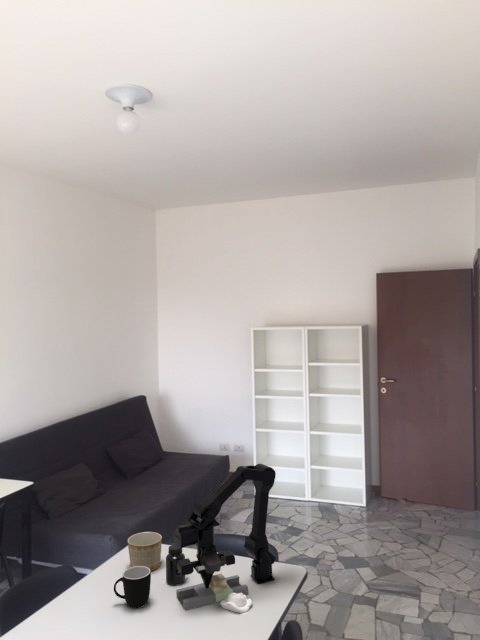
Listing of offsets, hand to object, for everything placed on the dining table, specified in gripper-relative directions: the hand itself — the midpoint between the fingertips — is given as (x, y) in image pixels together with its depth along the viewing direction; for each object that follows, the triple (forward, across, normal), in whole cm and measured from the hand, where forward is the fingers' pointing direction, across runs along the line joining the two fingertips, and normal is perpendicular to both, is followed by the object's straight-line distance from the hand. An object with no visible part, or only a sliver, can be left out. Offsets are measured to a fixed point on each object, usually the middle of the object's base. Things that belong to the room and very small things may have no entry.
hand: (206, 587), depth 175 cm
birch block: (0, +4, 0) cm, 4 cm away
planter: (+3, -13, +31) cm, 34 cm away
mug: (+3, -23, +7) cm, 24 cm away
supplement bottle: (+3, -6, +15) cm, 17 cm away
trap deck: (+3, +2, 0) cm, 4 cm away
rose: (+4, +6, -9) cm, 12 cm away
